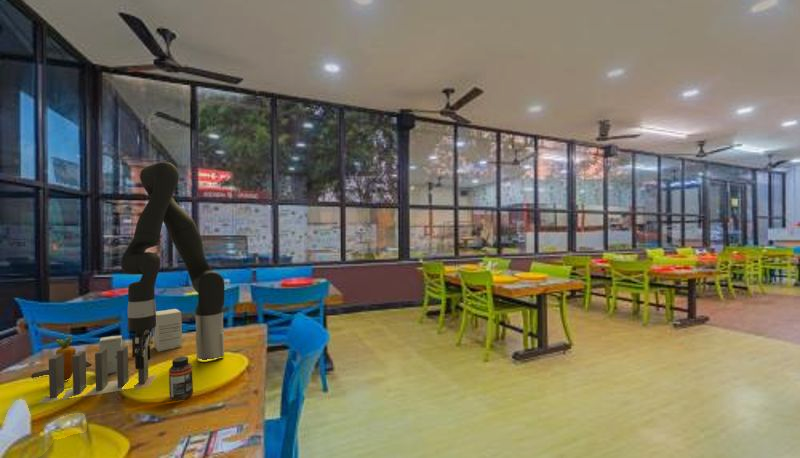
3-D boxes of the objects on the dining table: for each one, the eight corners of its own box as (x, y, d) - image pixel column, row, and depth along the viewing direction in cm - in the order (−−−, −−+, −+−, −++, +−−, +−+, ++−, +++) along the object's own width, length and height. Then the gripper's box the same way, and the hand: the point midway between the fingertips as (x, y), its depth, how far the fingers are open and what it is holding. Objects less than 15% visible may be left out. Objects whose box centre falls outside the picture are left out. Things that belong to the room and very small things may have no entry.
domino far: (64, 390, 115) (63, 353, 115) (56, 397, 110) (55, 358, 110) (57, 391, 114) (56, 354, 114) (49, 398, 110) (48, 359, 110)
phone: (92, 364, 137) (36, 378, 125) (92, 366, 137) (36, 380, 125) (85, 360, 142) (31, 373, 129) (85, 363, 142) (31, 376, 129)
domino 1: (86, 387, 117) (85, 350, 117) (79, 393, 112) (78, 355, 112) (80, 388, 116) (79, 351, 116) (73, 394, 112) (72, 356, 112)
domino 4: (148, 378, 123) (147, 343, 123) (144, 383, 119) (143, 347, 119) (142, 378, 123) (141, 344, 123) (138, 384, 118) (137, 348, 118)
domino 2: (107, 384, 119) (107, 348, 119) (102, 390, 115) (101, 353, 114) (101, 385, 119) (100, 348, 118) (95, 391, 114) (94, 353, 114)
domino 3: (128, 381, 121) (127, 345, 121) (123, 387, 117) (123, 350, 117) (122, 382, 121) (121, 346, 121) (117, 388, 116) (116, 351, 116)
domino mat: (156, 375, 126) (156, 374, 126) (149, 387, 117) (149, 385, 117) (54, 390, 116) (54, 389, 116) (37, 404, 107) (37, 403, 107)
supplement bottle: (176, 392, 113) (175, 355, 113) (196, 391, 113) (195, 354, 113) (165, 402, 107) (164, 362, 107) (187, 400, 107) (186, 361, 107)
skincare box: (99, 376, 127) (98, 340, 127) (100, 372, 131) (99, 337, 131) (121, 372, 130) (120, 337, 130) (122, 368, 134) (121, 334, 134)
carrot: (53, 386, 119) (52, 339, 119) (59, 380, 124) (58, 335, 124) (73, 383, 122) (72, 337, 122) (78, 377, 126) (77, 333, 126)
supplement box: (153, 347, 158) (152, 311, 158) (177, 342, 164) (176, 308, 164) (157, 352, 151) (156, 315, 151) (182, 346, 157) (181, 311, 157)
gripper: (150, 317, 115) (151, 369, 116) (160, 308, 129) (161, 355, 129) (121, 320, 113) (122, 374, 113) (134, 310, 126) (135, 358, 126)
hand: (143, 364), depth 121 cm, fingers open, 8 cm apart
